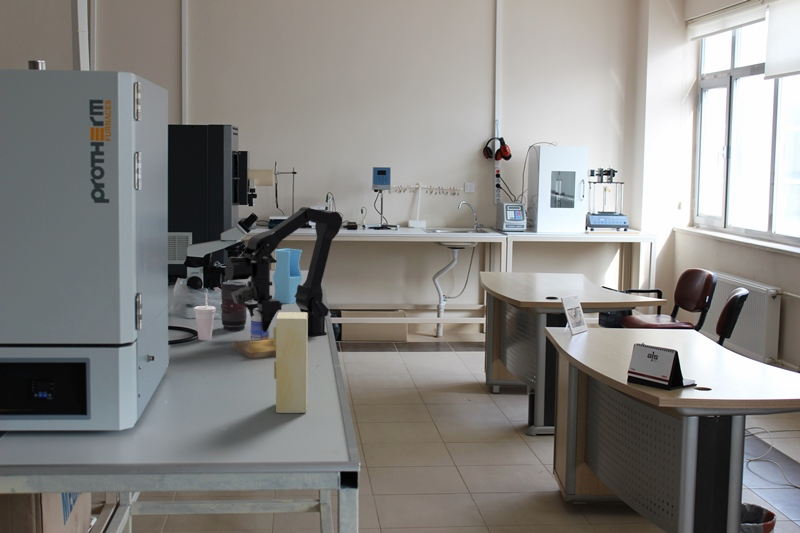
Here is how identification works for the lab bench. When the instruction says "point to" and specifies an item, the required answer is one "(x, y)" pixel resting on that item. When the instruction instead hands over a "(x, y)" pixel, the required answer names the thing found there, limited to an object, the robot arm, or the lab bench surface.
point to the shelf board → (256, 348)
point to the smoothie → (204, 320)
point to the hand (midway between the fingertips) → (259, 329)
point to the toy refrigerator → (291, 361)
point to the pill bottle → (257, 327)
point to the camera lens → (232, 307)
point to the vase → (287, 275)
